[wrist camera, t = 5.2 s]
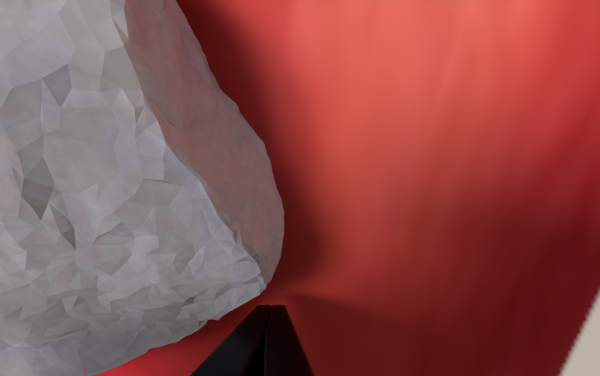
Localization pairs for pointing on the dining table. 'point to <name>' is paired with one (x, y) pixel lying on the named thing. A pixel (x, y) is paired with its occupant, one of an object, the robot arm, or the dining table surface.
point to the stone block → (121, 187)
